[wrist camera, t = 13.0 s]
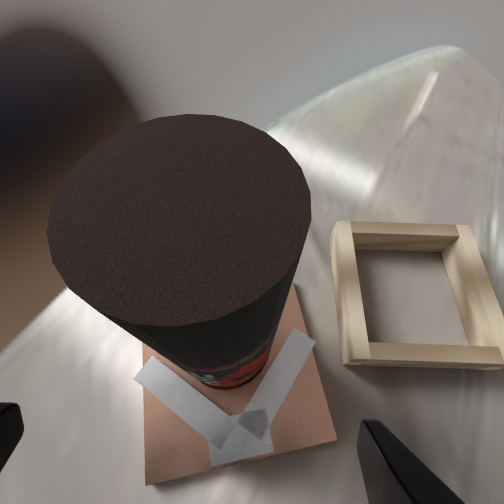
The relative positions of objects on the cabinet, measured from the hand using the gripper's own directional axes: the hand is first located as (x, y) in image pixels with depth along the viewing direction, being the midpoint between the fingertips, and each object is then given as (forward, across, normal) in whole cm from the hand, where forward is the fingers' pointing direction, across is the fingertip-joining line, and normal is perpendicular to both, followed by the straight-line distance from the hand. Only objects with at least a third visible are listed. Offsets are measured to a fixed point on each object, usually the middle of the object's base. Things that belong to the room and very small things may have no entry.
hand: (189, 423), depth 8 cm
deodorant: (+12, 0, +5) cm, 13 cm away
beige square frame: (+15, -13, +3) cm, 20 cm away
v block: (+11, 0, +7) cm, 13 cm away
